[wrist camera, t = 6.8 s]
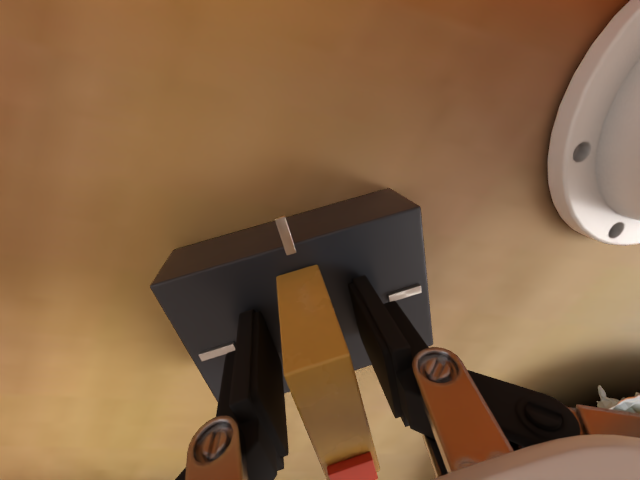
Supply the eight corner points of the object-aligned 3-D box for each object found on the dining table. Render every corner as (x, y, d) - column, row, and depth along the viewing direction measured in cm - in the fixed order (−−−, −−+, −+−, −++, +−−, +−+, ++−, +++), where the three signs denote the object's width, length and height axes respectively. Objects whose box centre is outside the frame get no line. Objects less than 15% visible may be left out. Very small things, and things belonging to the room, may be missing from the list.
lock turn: (275, 275, 11) (283, 384, 6) (317, 263, 11) (352, 362, 7) (309, 370, 13) (332, 499, 9) (344, 358, 13) (383, 481, 9)
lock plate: (386, 163, 13) (420, 177, 10) (407, 321, 17) (437, 364, 14) (160, 226, 12) (129, 261, 9) (237, 376, 16) (232, 432, 13)
